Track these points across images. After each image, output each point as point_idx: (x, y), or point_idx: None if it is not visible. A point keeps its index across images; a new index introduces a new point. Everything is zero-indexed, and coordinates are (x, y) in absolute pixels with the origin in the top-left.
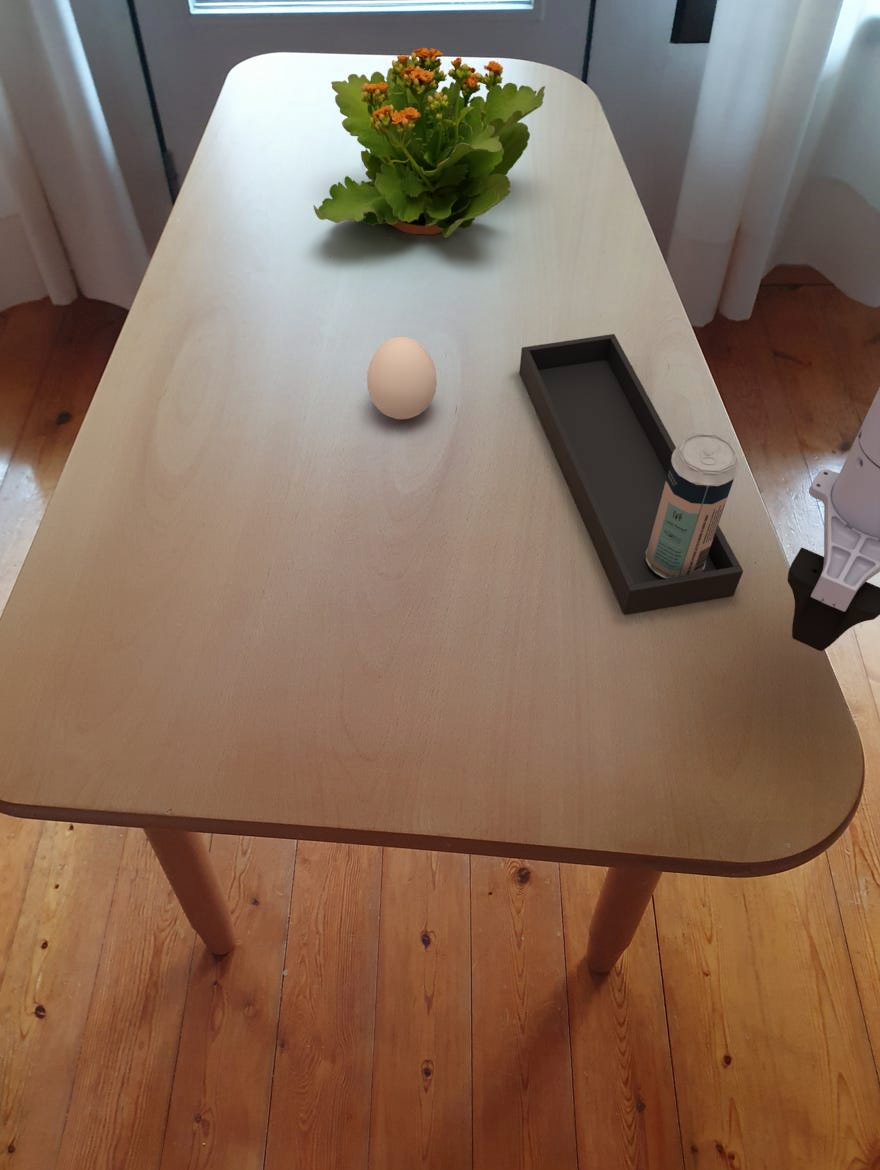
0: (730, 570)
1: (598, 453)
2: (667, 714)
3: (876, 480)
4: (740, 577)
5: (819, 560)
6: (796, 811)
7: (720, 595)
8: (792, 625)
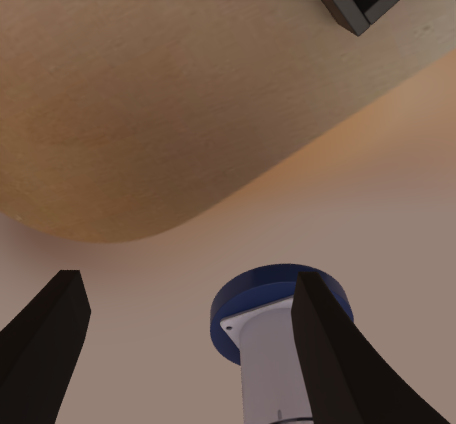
0: (351, 12)
1: None
2: (55, 27)
3: None
4: (351, 32)
5: None
6: (60, 213)
7: (324, 4)
8: (42, 289)
